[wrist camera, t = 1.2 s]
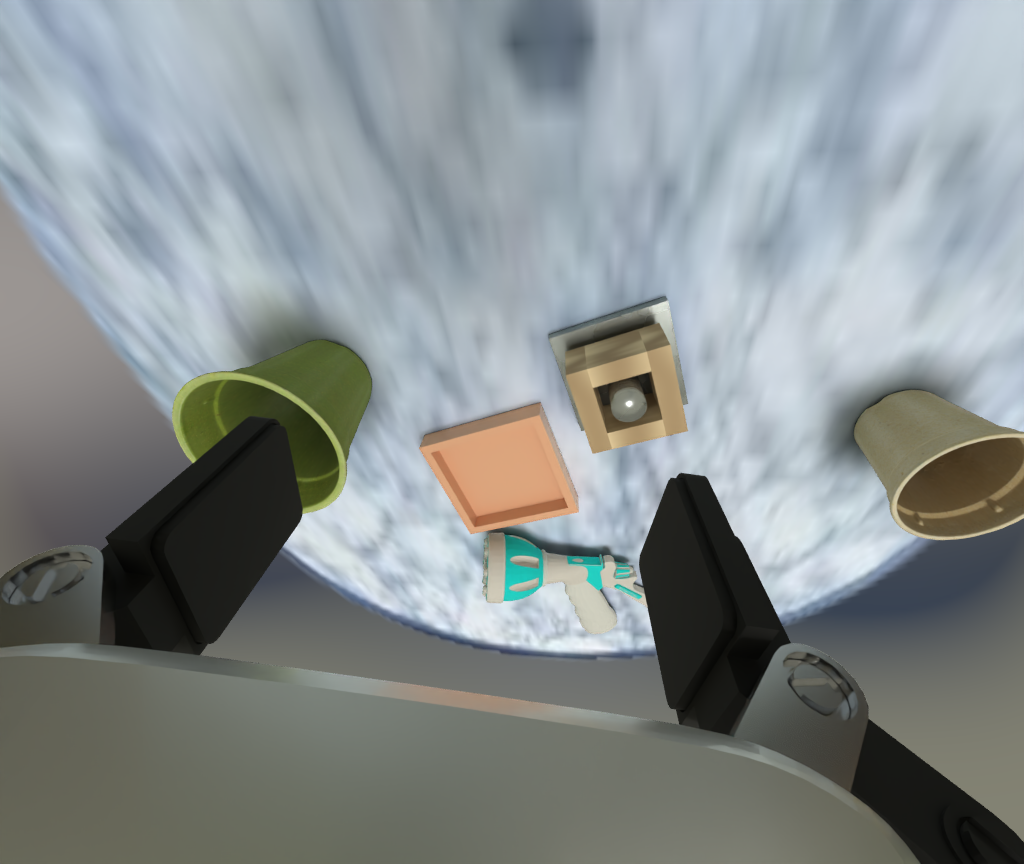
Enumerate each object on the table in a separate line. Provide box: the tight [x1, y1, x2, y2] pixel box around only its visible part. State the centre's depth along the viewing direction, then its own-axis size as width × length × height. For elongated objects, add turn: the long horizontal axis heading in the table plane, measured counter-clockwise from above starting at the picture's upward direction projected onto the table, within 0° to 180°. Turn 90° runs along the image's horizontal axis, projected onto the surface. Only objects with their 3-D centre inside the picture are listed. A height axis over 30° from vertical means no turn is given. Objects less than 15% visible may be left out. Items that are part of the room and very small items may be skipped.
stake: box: [549, 297, 688, 431], centre depth 33 cm, size 9×9×6 cm
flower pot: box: [854, 390, 1024, 540], centre depth 33 cm, size 9×9×9 cm
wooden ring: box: [565, 323, 688, 454], centre depth 32 cm, size 7×7×4 cm
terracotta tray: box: [419, 402, 579, 534], centre depth 42 cm, size 12×12×2 cm
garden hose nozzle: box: [482, 533, 648, 634], centre depth 49 cm, size 7×18×20 cm
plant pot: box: [172, 340, 372, 514], centre depth 34 cm, size 12×12×11 cm
